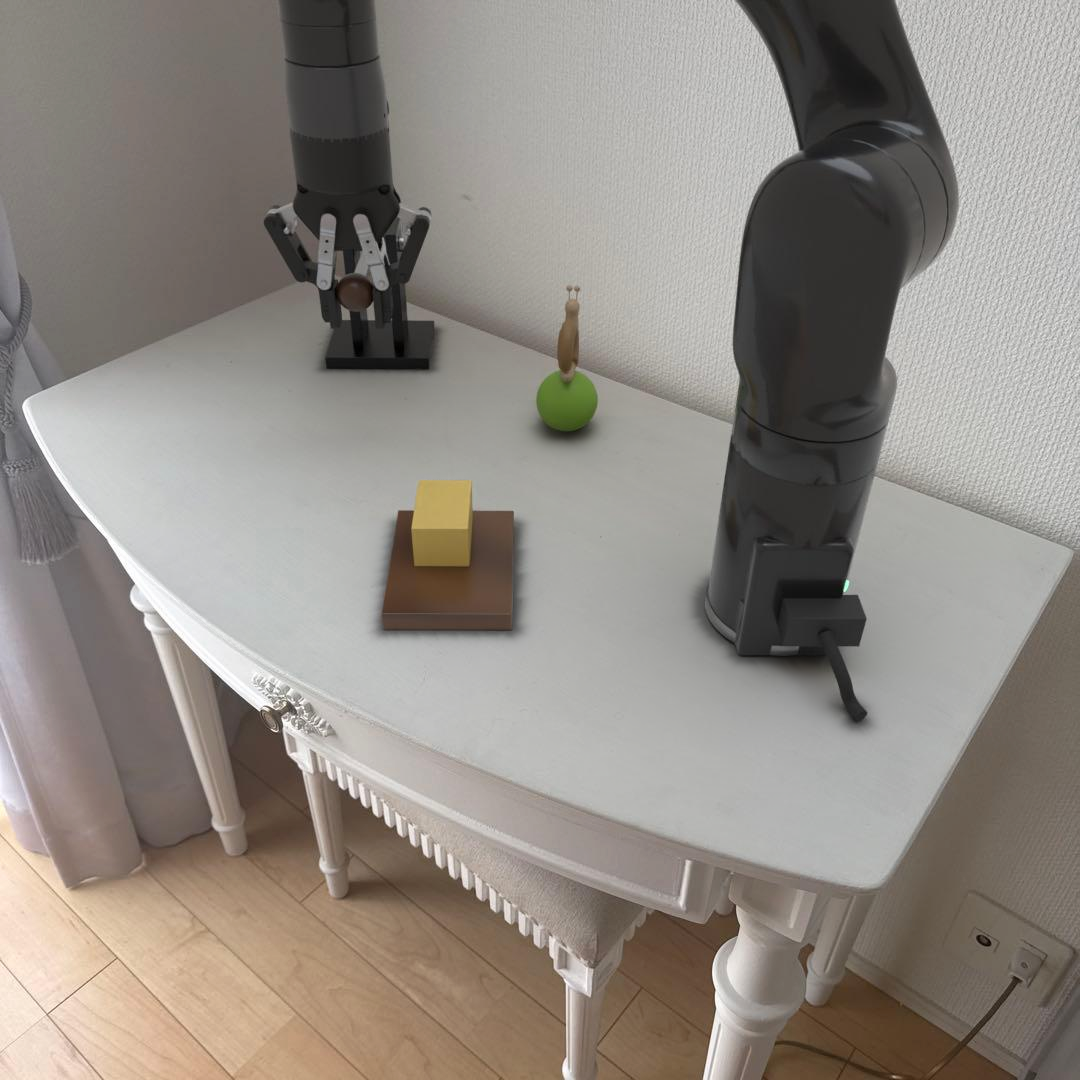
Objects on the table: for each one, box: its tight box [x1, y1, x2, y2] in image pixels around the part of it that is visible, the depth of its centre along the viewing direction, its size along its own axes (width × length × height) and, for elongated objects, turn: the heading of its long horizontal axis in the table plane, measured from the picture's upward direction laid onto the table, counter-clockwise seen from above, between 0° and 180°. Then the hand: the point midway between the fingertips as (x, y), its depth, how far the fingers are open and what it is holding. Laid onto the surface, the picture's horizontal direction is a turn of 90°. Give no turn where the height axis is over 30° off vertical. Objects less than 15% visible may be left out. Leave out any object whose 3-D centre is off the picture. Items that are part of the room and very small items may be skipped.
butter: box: [411, 479, 474, 566], centre depth 77 cm, size 6×4×4 cm, turn 0°
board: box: [380, 509, 515, 631], centre depth 77 cm, size 12×9×2 cm
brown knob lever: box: [336, 235, 386, 312], centre depth 93 cm, size 15×3×3 cm, turn 1°
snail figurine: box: [535, 284, 599, 432], centre depth 91 cm, size 5×6×12 cm
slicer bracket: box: [324, 217, 436, 370], centre depth 101 cm, size 8×10×13 cm
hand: (359, 324), depth 90 cm, fingers closed on brown knob lever, 3 cm apart
